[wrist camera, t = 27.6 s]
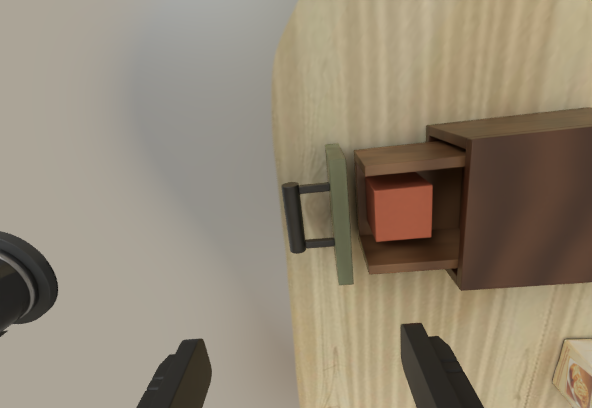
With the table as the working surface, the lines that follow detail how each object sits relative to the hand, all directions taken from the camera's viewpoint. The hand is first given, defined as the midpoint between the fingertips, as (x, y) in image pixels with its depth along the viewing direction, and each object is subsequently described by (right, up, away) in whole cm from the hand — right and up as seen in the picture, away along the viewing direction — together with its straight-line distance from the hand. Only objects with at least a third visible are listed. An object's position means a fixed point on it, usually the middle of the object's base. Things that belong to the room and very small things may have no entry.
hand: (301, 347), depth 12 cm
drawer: (+7, +7, +17) cm, 20 cm away
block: (+8, +6, +16) cm, 19 cm away
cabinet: (+19, +8, +17) cm, 27 cm away
